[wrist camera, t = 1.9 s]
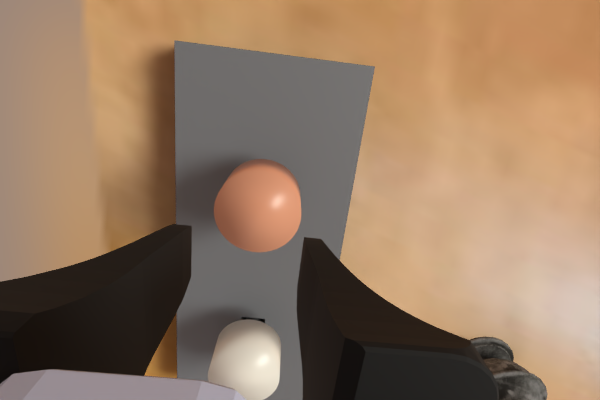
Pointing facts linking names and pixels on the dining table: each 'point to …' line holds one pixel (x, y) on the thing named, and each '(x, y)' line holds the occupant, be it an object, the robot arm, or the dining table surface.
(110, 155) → the dining table surface
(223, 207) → the knob
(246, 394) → the knob
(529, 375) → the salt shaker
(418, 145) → the dining table surface
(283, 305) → the control board
